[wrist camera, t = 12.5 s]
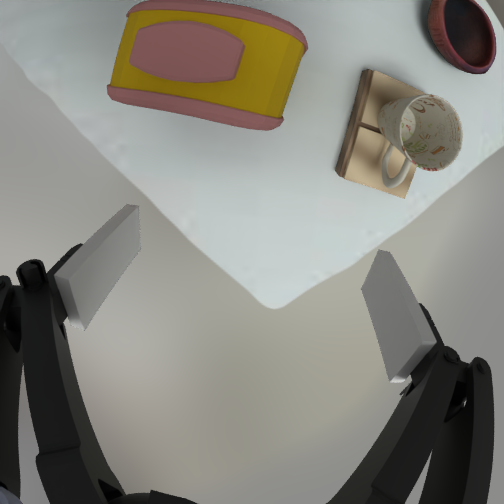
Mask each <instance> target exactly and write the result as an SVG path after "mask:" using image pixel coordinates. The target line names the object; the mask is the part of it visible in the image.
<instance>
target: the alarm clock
mask: <svg viewBox="0 0 504 504" xmlns="http://www.w3.org/2000/svg"><path fill="white" fill-rule="evenodd" d="M126 17H128V20H127V23H126V26H125V29H124V32H123V35H122V39H121V42H120V46H119V49H118V53H117V57H116V61H115V65H114V69H113V73H112V78H111V82H110V85H107V93H108V95H109V96H110V98H111V99H112V100H114V101H117V102H121V103H124V104H128V105H134V106H139V107H145V108H151V109H157V110H163V111H168V112H173V113H178V114H183V115H188V116H193V117H197V118H202V119H206V120H210V121H214V122H219V123H223V124H228V125H232V126H237V127H242V128H247V129H255V130H267V131H268V130H272V129H274V128H276V127H278V126H280V125H281V123H282V122H283V120H284V119H283V116H282V114H283V111H284V108H285V105H286V102H287V99H288V96H289V93H290V90H291V87H292V84H293V81H294V78H295V76H296V73H297V70H298V67H299V64H300V61H301V58H302V57H303V55H304V54H305V52H306V51H307V49H308V45H307V41H306V38H305V36H304V34H303V33H302V31H301V30H300V29H298V28H297V27H296V26H294V25H293V24H291V23H290V22H288V21H286V20H284V19H281V18H279V17H277V16H274V15H272V14H270V13H267V12H264V11H261V10H257V9H253V8H250V7H245V6H240V5H235V4H228V3H222V2H214V1H205V0H148V1H144V2H141V3H139V4H137V5H135V6H133V7H132V8H131V9H130V10H129V11H128V13H127V15H126Z"/></svg>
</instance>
